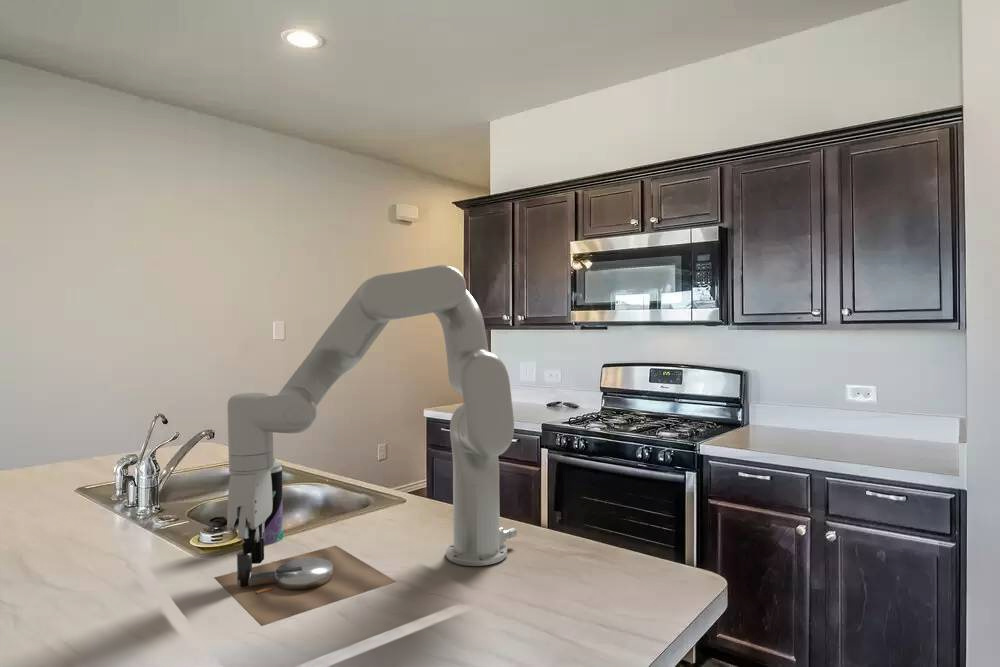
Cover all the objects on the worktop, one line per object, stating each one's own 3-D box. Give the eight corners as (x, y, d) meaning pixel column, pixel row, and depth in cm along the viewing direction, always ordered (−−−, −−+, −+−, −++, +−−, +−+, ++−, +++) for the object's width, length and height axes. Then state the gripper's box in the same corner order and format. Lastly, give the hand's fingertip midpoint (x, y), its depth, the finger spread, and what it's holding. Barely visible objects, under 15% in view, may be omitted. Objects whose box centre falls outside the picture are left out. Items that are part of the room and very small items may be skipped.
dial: (331, 563, 117) (331, 534, 117) (334, 585, 108) (333, 552, 108) (240, 575, 112) (239, 544, 112) (234, 598, 103) (234, 565, 103)
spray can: (274, 551, 129) (272, 457, 128) (250, 550, 130) (249, 456, 129) (288, 542, 134) (286, 451, 134) (265, 541, 135) (264, 450, 135)
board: (335, 552, 128) (335, 544, 128) (396, 589, 110) (396, 580, 110) (214, 585, 112) (214, 576, 112) (261, 635, 94) (261, 624, 94)
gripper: (246, 453, 118) (248, 547, 119) (212, 472, 103) (214, 580, 104) (285, 452, 118) (287, 546, 119) (257, 471, 104) (259, 578, 104)
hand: (253, 561), depth 111 cm, fingers closed
